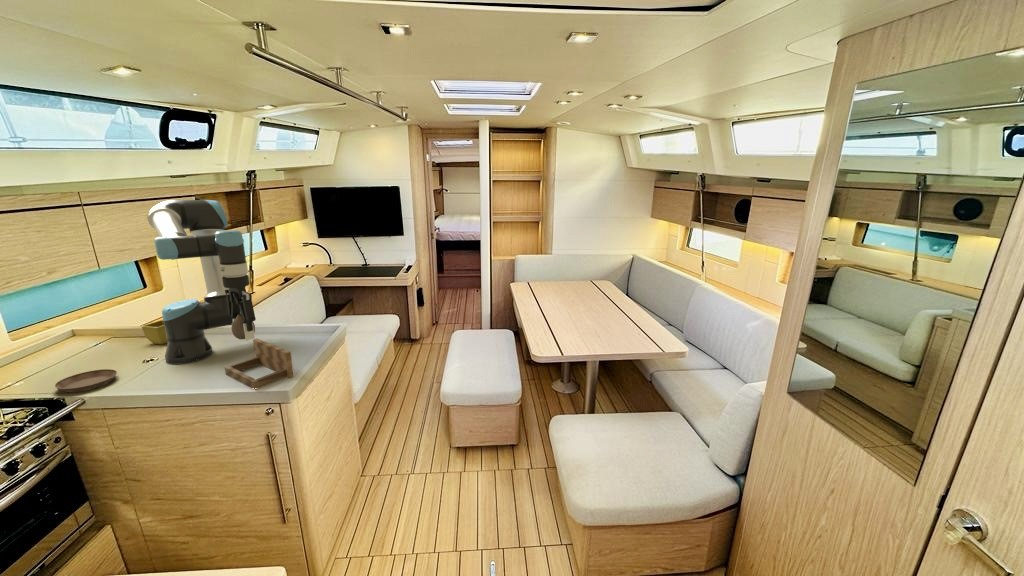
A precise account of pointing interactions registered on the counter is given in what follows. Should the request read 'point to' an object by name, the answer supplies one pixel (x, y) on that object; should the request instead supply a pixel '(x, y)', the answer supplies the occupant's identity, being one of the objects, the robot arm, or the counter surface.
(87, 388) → the saucer
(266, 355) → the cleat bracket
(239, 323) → the vase
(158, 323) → the flower pot
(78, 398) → the counter surface
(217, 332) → the counter surface
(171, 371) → the counter surface
